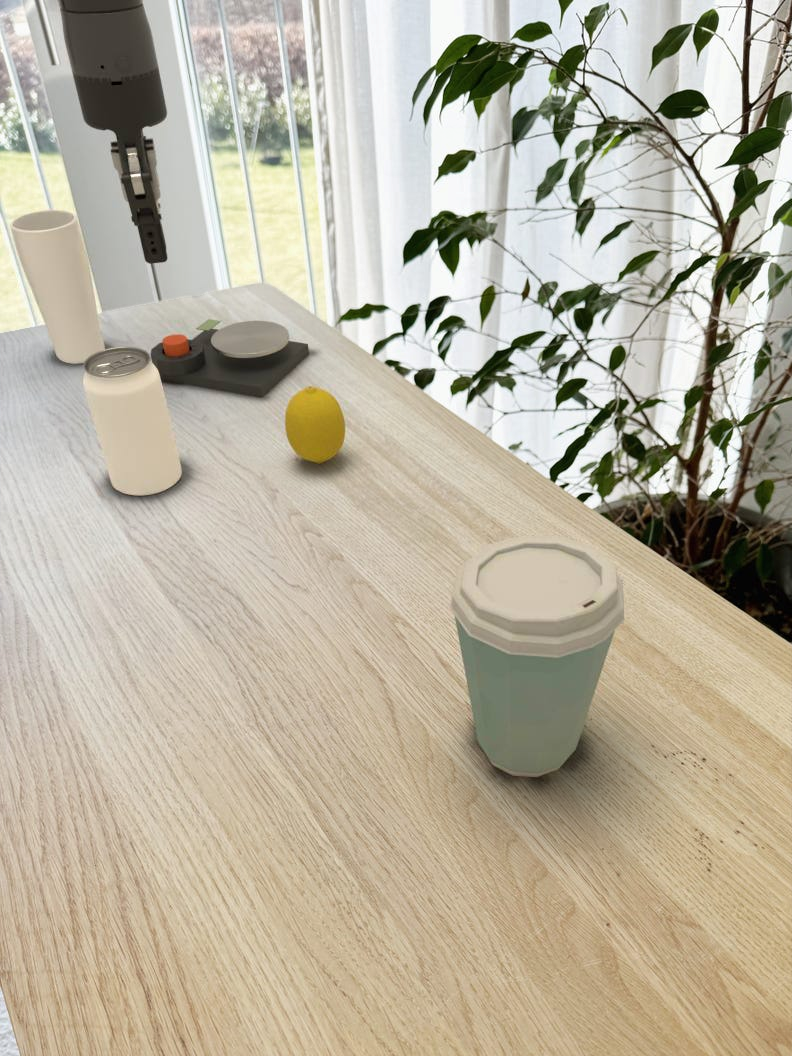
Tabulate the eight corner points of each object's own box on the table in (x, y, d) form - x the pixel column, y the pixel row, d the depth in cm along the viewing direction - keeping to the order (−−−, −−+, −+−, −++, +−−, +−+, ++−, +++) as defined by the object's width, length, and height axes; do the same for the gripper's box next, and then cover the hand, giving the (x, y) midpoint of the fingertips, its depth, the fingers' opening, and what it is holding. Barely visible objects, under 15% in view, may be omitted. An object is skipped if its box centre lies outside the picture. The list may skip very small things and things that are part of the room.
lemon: (283, 457, 97) (271, 381, 92) (336, 443, 99) (328, 368, 94) (302, 484, 94) (291, 407, 88) (357, 469, 96) (350, 393, 90)
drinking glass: (38, 365, 112) (-5, 228, 102) (71, 339, 117) (32, 206, 107) (93, 371, 111) (54, 234, 101) (123, 345, 116) (89, 211, 106)
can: (99, 479, 94) (64, 361, 87) (159, 454, 98) (131, 337, 90) (135, 507, 91) (101, 386, 83) (196, 480, 94) (169, 360, 86)
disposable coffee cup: (421, 736, 70) (411, 563, 60) (536, 667, 75) (544, 498, 65) (524, 830, 64) (531, 654, 54) (641, 748, 69) (667, 574, 59)
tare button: (160, 356, 108) (157, 342, 107) (173, 346, 110) (170, 332, 109) (181, 359, 107) (178, 346, 106) (194, 349, 109) (191, 336, 108)
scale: (146, 382, 109) (140, 356, 107) (203, 338, 117) (199, 313, 115) (258, 402, 106) (254, 376, 104) (309, 355, 114) (306, 330, 112)
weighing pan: (172, 347, 109) (170, 343, 108) (212, 316, 115) (211, 312, 114) (266, 363, 106) (265, 358, 106) (302, 330, 112) (302, 326, 111)
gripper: (73, 50, 95) (118, 237, 106) (68, 85, 85) (118, 287, 96) (155, 45, 96) (190, 230, 108) (160, 79, 86) (198, 278, 98)
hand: (156, 256), depth 102 cm, fingers closed
